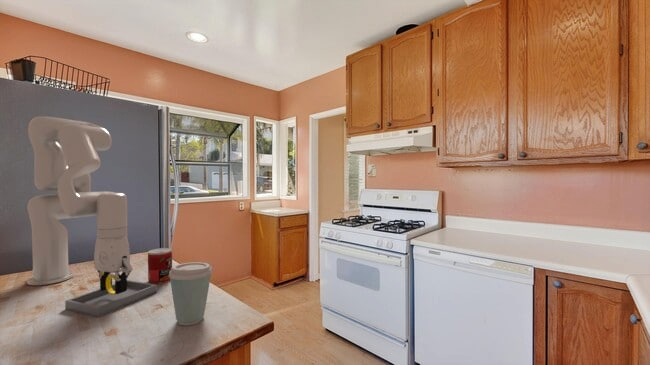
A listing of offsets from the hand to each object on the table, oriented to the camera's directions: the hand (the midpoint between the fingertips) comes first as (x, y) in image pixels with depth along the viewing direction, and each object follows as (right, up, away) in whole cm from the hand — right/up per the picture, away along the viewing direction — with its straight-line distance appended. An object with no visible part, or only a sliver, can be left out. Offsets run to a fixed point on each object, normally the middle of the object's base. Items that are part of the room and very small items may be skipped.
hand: (113, 290), depth 90 cm
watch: (0, -1, 0) cm, 1 cm away
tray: (0, -3, 0) cm, 3 cm away
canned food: (+5, -3, +18) cm, 18 cm away
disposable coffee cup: (+30, -4, -12) cm, 32 cm away
